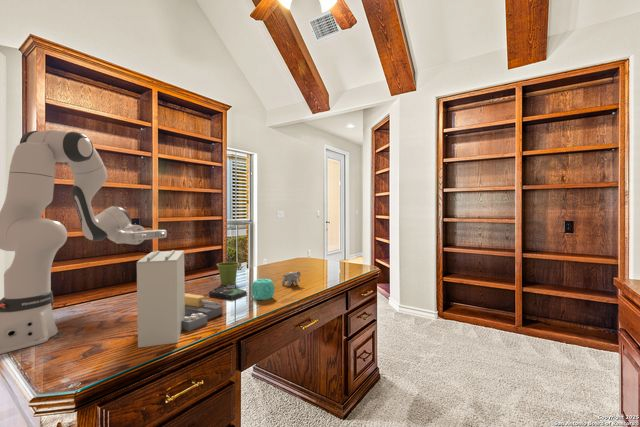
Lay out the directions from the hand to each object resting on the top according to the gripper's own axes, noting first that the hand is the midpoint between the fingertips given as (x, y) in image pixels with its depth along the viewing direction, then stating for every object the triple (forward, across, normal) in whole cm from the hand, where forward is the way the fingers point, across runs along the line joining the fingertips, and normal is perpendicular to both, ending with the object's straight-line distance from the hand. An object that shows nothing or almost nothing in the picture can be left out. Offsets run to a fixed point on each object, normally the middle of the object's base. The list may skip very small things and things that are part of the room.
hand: (154, 235), depth 135 cm
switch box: (+35, +10, -30) cm, 47 cm away
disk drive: (+19, -24, -31) cm, 44 cm away
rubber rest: (+25, 0, -30) cm, 39 cm away
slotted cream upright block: (+30, +18, -30) cm, 46 cm away
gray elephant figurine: (+37, -54, -30) cm, 72 cm away
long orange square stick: (+22, -1, -27) cm, 35 cm away
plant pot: (+3, -41, -30) cm, 51 cm away
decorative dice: (+36, -29, -30) cm, 55 cm away
